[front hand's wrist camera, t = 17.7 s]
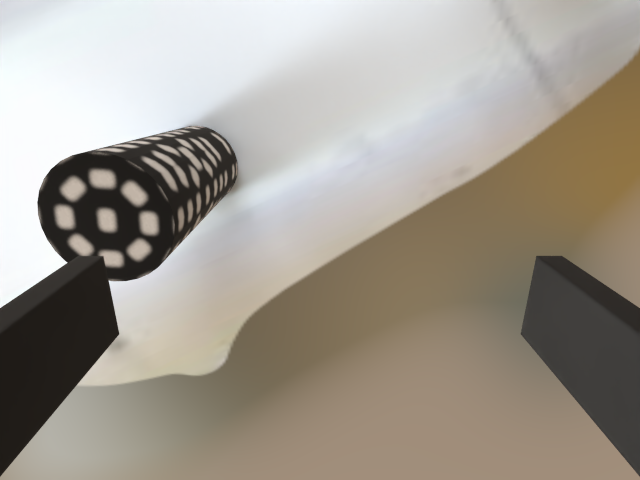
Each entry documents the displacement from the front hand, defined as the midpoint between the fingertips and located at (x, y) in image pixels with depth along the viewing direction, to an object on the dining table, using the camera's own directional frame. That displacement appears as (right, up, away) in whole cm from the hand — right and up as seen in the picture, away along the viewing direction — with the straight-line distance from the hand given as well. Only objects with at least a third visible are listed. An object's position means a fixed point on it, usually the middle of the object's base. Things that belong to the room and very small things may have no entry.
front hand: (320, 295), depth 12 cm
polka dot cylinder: (-13, +6, +22) cm, 26 cm away
